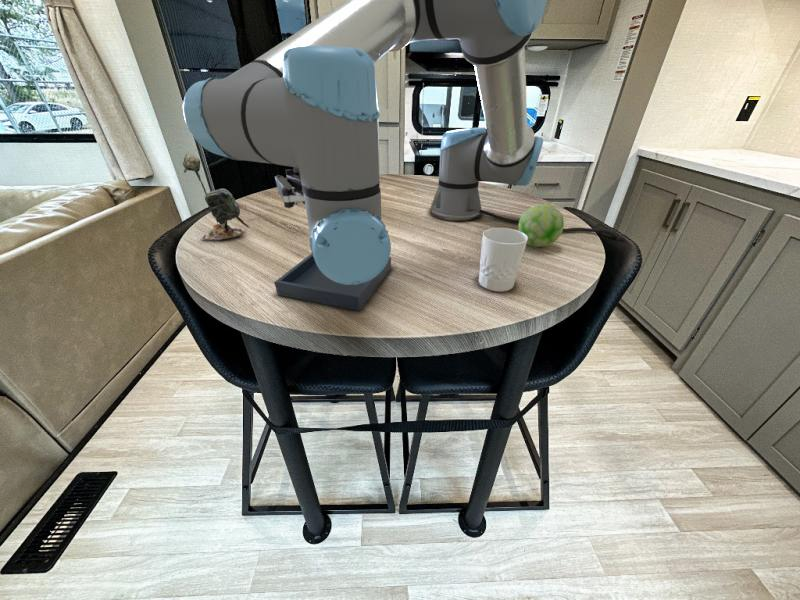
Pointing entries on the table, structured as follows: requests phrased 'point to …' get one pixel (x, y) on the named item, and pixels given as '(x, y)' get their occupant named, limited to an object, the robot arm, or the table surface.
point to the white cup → (501, 257)
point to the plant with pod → (217, 205)
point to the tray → (325, 286)
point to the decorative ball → (541, 225)
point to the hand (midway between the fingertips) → (322, 171)
